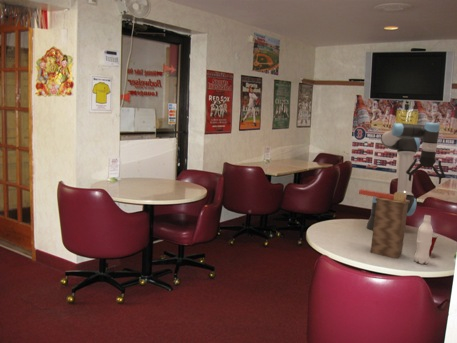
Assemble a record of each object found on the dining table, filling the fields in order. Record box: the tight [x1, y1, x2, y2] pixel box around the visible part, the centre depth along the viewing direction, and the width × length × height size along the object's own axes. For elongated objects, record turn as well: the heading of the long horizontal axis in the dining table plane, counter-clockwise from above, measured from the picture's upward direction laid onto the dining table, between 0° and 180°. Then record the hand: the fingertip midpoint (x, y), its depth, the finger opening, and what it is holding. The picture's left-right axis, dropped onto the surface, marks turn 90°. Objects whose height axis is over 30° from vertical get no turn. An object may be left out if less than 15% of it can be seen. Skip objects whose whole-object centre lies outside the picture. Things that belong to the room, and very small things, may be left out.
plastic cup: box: [416, 231, 439, 257], centre depth 250 cm, size 11×11×12 cm
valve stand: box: [370, 197, 410, 259], centre depth 246 cm, size 15×11×30 cm
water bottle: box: [414, 214, 434, 265], centre depth 235 cm, size 7×7×25 cm
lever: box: [358, 188, 407, 202], centre depth 247 cm, size 24×5×4 cm, turn 56°
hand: (423, 188), depth 257 cm, fingers open, 13 cm apart
